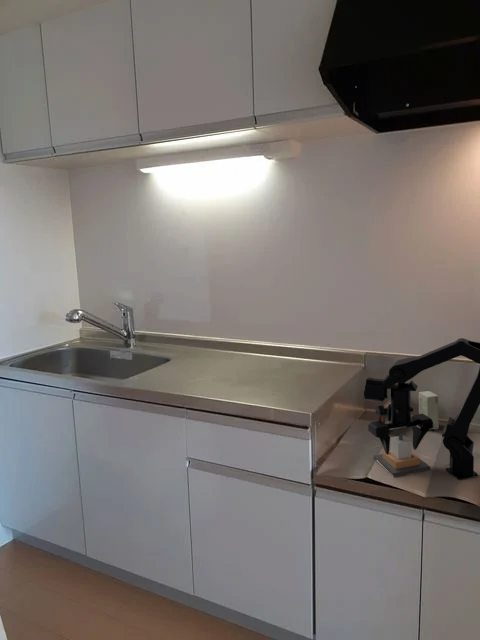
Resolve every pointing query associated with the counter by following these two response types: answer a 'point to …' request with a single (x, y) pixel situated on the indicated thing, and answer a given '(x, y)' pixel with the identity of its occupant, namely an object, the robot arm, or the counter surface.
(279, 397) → the counter surface
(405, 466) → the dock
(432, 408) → the skincare box
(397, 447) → the light gray block
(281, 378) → the counter surface
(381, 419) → the tin
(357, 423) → the counter surface
